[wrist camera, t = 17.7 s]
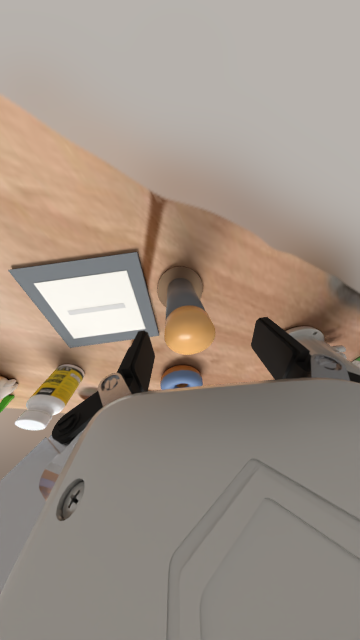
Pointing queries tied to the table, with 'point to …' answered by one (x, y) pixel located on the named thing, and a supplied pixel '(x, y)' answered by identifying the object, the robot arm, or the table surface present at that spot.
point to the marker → (186, 320)
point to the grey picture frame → (91, 298)
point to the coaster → (178, 273)
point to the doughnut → (181, 377)
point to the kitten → (6, 391)
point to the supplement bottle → (50, 397)
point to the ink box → (357, 362)
